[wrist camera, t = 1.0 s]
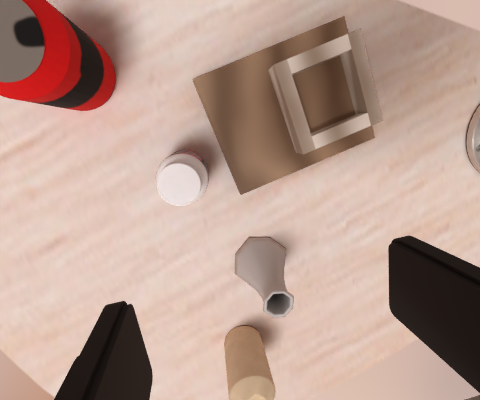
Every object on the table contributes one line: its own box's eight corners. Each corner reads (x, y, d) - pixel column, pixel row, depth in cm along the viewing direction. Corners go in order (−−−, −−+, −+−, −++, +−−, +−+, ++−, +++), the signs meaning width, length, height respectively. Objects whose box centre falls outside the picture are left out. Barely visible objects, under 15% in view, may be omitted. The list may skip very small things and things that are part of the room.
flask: (226, 276, 37) (233, 326, 28) (244, 228, 36) (259, 264, 26) (274, 289, 39) (296, 341, 29) (293, 244, 37) (324, 282, 28)
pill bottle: (207, 149, 33) (208, 155, 24) (209, 191, 34) (210, 211, 26) (162, 150, 32) (146, 156, 24) (165, 193, 33) (152, 214, 25)
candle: (216, 342, 40) (219, 410, 30) (243, 318, 39) (256, 378, 29) (241, 363, 41) (253, 433, 31) (268, 339, 40) (288, 403, 31)
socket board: (337, 21, 31) (356, 5, 27) (367, 137, 35) (388, 137, 31) (193, 81, 31) (191, 74, 27) (239, 192, 35) (243, 199, 31)
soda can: (124, 105, 30) (75, 88, 19) (54, 116, 30) (-40, 105, 18) (105, 30, 29) (37, -40, 17) (30, 40, 28) (-93, -26, 16)
